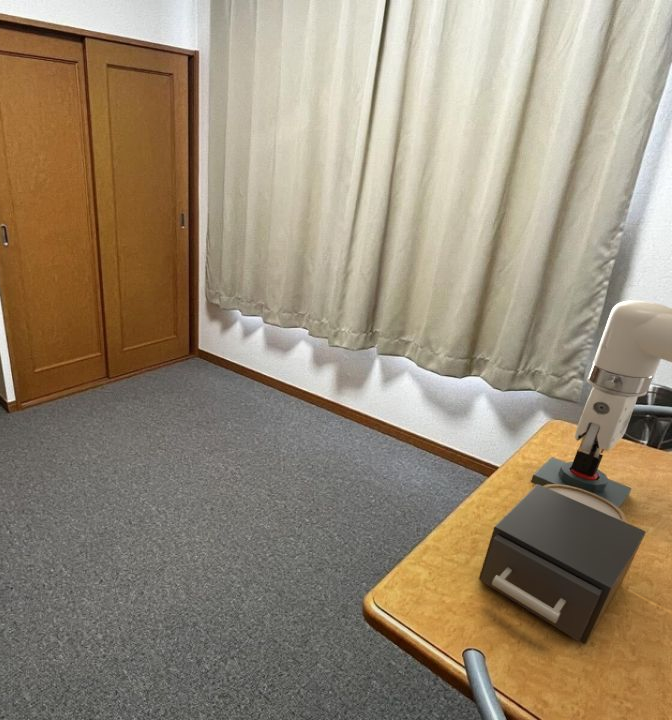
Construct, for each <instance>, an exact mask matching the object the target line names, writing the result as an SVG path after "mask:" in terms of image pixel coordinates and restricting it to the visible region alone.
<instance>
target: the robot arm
mask: <svg viewBox="0 0 672 720" xmlns="http://www.w3.org/2000/svg"><path fill="white" fill-rule="evenodd" d="M661 360H664V361H666V362H669V363H672V307H669V306H667V305H664V304H662V303H661V304H660V303H657V302H651V301H644V300H643V301H642V300H624V301H621V302H618V303H616V304H615V305H614V306H613V307H612V309H611V311H610V314H609V316H608V319H607V321H606V325H605V327H604V330H603V333H602V336H601V339H600V342H599V344H598V347H597V350H596V353H595V356H594V358H593V361H592V363H591V367H590V370H589V372H588V375H587V377H586V382H587V383H588V384H589V385H590V386H592V388H591V391H590V393H589V395H588V397H587V400H586V402H585V405H584V407H583V411H582V413H581V415H580V418H579V420H578V424H577V426H576V430H575V433H574V439H575V440H576V441H577V442H578V441H580V443H579V447H578V449H577V450H576V453H575V456H574V459H573V461H572V462H573V464H572V466H571V468H572V469H573V470H575V471H578V472H580V473H583V474H585V475H588V476H590V477H592V476H594V474H595V473H596V472H597V469H598V470H599V466H600V464H601V462H602V460H603V456H604V454H603V453H604V451H605V452H609V451H611V450H613V448H614V447H616V445H617V444H618V443H619V442H620V441H621V439H623V437H624V435H625V434H626V432H627V429H628V426H629V423H630V420H631V417H632V414H633V413H634V410H635V406H636V405H637V404H636V403H637V401H638V398H640V397H644V396H646V395H647V393H648V392H649V389H650V387H651V384H652V382H653V379H654V376H655V375H656V372H657V369H658V367H659V365H660V362H661Z"/></svg>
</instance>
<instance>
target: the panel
mask: <svg viewBox="0 0 672 720" xmlns="http://www.w3.org/2000/svg"><path fill="white" fill-rule="evenodd" d="M572 464H573V461H565V460H564V461H563V460H561V459H558V458H557V457H553V456H551V457H550V458H549V459H548V460H547V461H546V462H545V463H544V464H543V465H541V466H540V468H538V469H537V470H536V471H535V472H534V473H533V474H532V478H531V480H530V482H531V483H533V484H535V485H537V484H539V485H541V486H544V485H547V484H561V485H568V486H572V487H576V488H580V489H583V490H586V491H589V492H591V493H594V494H596V495H598V496H600V497H602V498H604V499H606V500H608V501H609V502H611V503H612V504H614V505H616V506H617V507H618V508H619V509H621V507H622V506H623V504H624V503H625V502H626V500H627V499H628V497H629V496H630V493H631V491H632V490H633V488H632V487H630V486H627V485H625V484H622V483H620V482H617V481H615V480H612V479H609V478H608V476H607V474H605V472H603V471H601V470H600V469H599V468H598V469H597V472H596V474H597V475H598V477H597V480H593V481H592V480H586V479H583V478H580V477H578V476H576V475H575V474H573V473H572V472H571V470H572V468H571V466H572Z"/></svg>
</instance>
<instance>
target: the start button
mask: <svg viewBox="0 0 672 720" xmlns="http://www.w3.org/2000/svg"><path fill="white" fill-rule="evenodd" d="M571 472H572V473H573V474H575V475H576V476H578V477H580V478H583V479H586V480H592V481H593V480H597V477H598V475H597V474H596V473H595V474H594V476H592V477H590V476H588V475H585V474H583V473H580V472H578V471H575V470H573V469H572V470H571Z"/></svg>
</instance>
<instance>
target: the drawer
mask: <svg viewBox="0 0 672 720" xmlns="http://www.w3.org/2000/svg"><path fill="white" fill-rule="evenodd" d="M480 582H482V583H484V584H485V585H486V586H487V587H488V586H489V587H490V588H491V589H493V590H494V591H496V592H497V593H500V594H501V595H503V596H505V597H506V598H508V599H510V600H511V601H513V602H514V603H516V604H517V605H519V606H521V607H523V609H526V610H527V611H529V612H531V613H532V614H534V615H535V616H536V617H538V618H540V619H542V620H543V621H545V622H547V623H548V624H550V625H551V626H553V627H555V628H556V629H558V630H559V631H561V632H563V633H565V634H566V635H568V636H569V637H571V638H572V639H574V640H576V641H577V642H580V641H579V640H580V638H581V637H582V635H583V633H584V630H585V628H586V626H587V624H588V622H589V619H590V617H591V615H592V613H593V610H594V608H595V606H596V604H597V601H598V599H599V597H600V595H601V592H602V590H600V589H601V588H599V587H597V586H596V585H594V584H592V583H590V582H588V581H586V580H584V579H582V578H581V577H579V576H577V575H575V574H573V573H571V572H569V571H567V570H566V569H564V568H562V567H560V566H558V565H556V564H554V563H552V562H551V561H549V560H547V559H545V558H543V557H541V556H539V555H538V554H536V553H534V552H532V551H530V550H528V549H526V548H524V547H523V546H521V545H519V544H517V543H515V542H513V541H511V540H509V539H508V538H506V539H505V538H503V537H502V536H500V535H497V536H496V537H495V538H494V539H493V542H492V546H491V549H490V552H489V556H488V559H487V562H486V565H485V569H484V572H483V575H482V579H480Z"/></svg>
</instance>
